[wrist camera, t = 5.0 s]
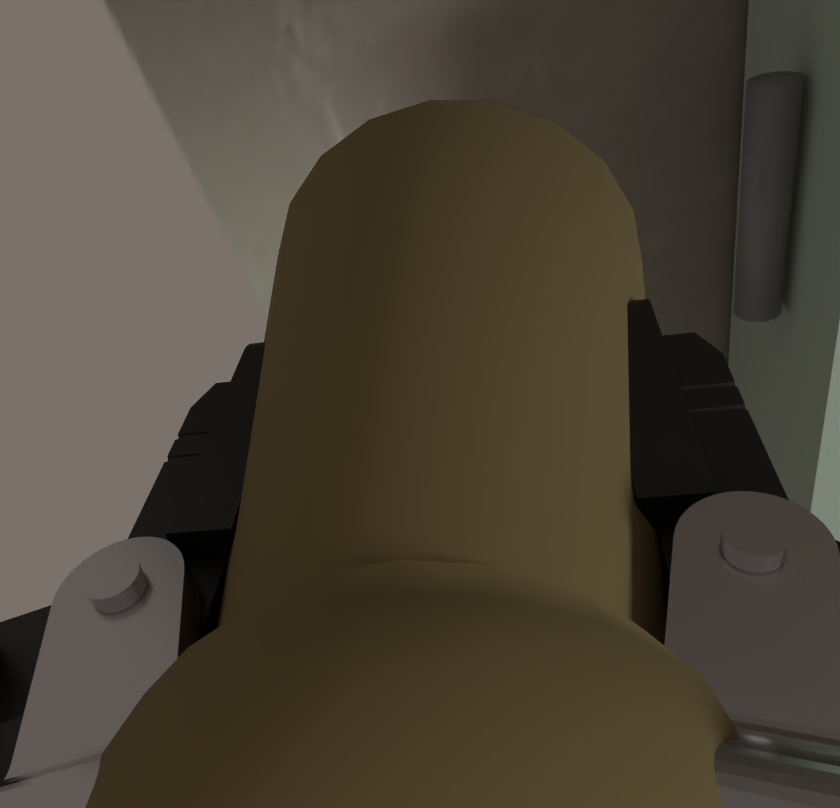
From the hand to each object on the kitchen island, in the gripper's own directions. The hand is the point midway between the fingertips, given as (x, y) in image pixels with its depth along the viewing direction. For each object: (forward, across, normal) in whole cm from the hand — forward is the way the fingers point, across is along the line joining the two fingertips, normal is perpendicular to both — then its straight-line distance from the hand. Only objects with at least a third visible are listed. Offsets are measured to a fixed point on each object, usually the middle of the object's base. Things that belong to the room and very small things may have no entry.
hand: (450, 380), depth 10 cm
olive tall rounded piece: (+3, 0, 0) cm, 3 cm away
